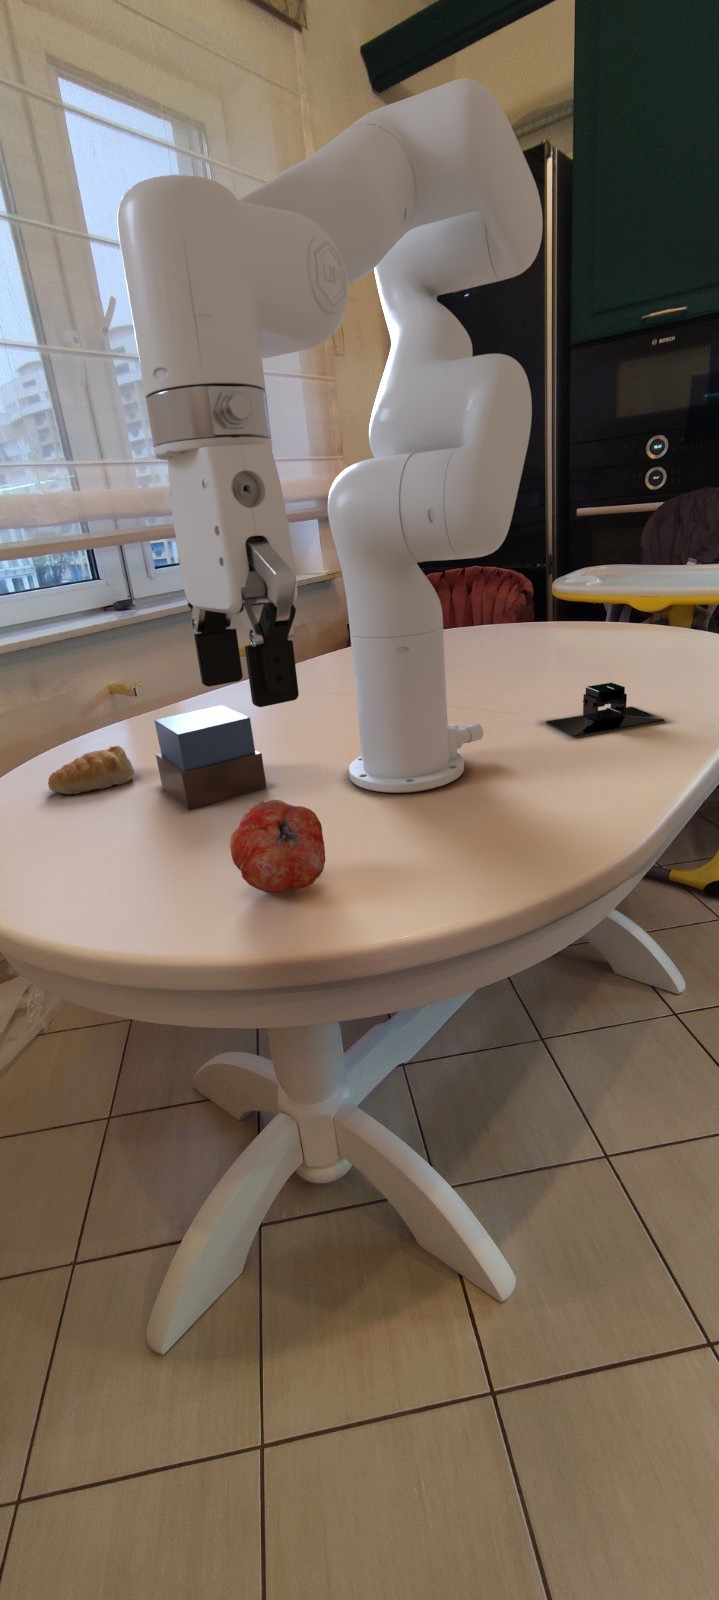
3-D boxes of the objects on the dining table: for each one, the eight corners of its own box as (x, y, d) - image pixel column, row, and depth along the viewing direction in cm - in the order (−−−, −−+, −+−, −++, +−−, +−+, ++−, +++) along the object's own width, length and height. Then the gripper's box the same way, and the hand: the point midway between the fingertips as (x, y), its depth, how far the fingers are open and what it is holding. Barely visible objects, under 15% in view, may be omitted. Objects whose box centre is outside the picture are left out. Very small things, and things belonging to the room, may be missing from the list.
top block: (227, 737, 85) (222, 704, 83) (255, 753, 78) (250, 717, 77) (161, 754, 81) (154, 719, 79) (184, 771, 75) (177, 734, 73)
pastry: (61, 803, 81) (52, 770, 79) (43, 789, 86) (34, 759, 84) (140, 779, 86) (133, 748, 85) (119, 768, 91) (112, 739, 90)
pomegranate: (233, 905, 60) (228, 884, 51) (232, 820, 62) (226, 785, 53) (322, 900, 61) (333, 879, 52) (318, 817, 63) (327, 782, 54)
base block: (235, 768, 87) (229, 736, 85) (266, 787, 80) (261, 753, 78) (162, 787, 83) (155, 754, 81) (188, 809, 75) (181, 774, 74)
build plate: (573, 739, 86) (574, 700, 84) (543, 724, 92) (543, 688, 91) (665, 721, 88) (667, 684, 86) (630, 708, 95) (631, 673, 93)
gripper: (327, 405, 41) (352, 701, 47) (217, 445, 55) (248, 669, 61) (201, 405, 38) (246, 724, 44) (118, 448, 52) (161, 685, 58)
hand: (247, 692), depth 52 cm, fingers open, 9 cm apart
